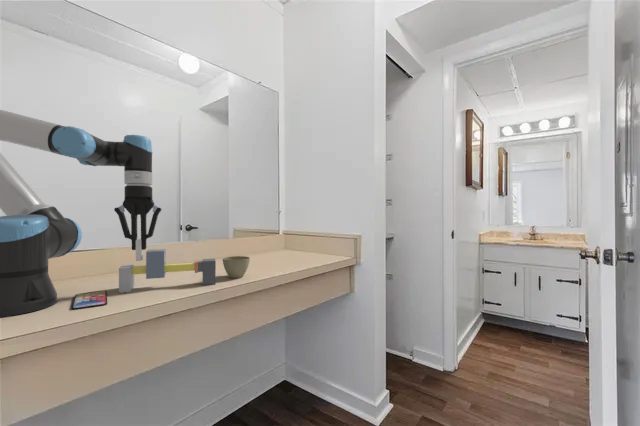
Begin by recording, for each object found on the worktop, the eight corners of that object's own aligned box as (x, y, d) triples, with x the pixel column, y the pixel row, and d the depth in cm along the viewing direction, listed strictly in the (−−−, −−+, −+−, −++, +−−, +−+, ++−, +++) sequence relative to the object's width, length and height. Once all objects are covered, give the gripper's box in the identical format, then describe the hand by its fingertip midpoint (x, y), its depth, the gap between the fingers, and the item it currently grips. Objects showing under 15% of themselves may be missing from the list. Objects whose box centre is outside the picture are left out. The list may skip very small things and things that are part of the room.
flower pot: (242, 280, 107) (242, 260, 107) (217, 278, 109) (217, 259, 109) (254, 274, 117) (254, 256, 117) (230, 273, 119) (230, 255, 119)
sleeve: (146, 278, 93) (146, 251, 93) (148, 275, 98) (148, 249, 98) (164, 277, 95) (164, 251, 95) (165, 274, 100) (165, 249, 100)
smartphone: (70, 308, 74) (75, 293, 87) (70, 312, 74) (75, 297, 87) (107, 303, 79) (106, 290, 91) (107, 307, 79) (106, 293, 91)
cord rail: (118, 293, 90) (118, 266, 90) (124, 287, 96) (124, 262, 96) (215, 285, 100) (215, 261, 100) (214, 280, 107) (214, 258, 107)
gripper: (110, 184, 88) (111, 263, 89) (160, 185, 93) (161, 260, 94) (117, 185, 95) (117, 259, 96) (163, 187, 100) (163, 257, 101)
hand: (139, 260), depth 95 cm, fingers closed
